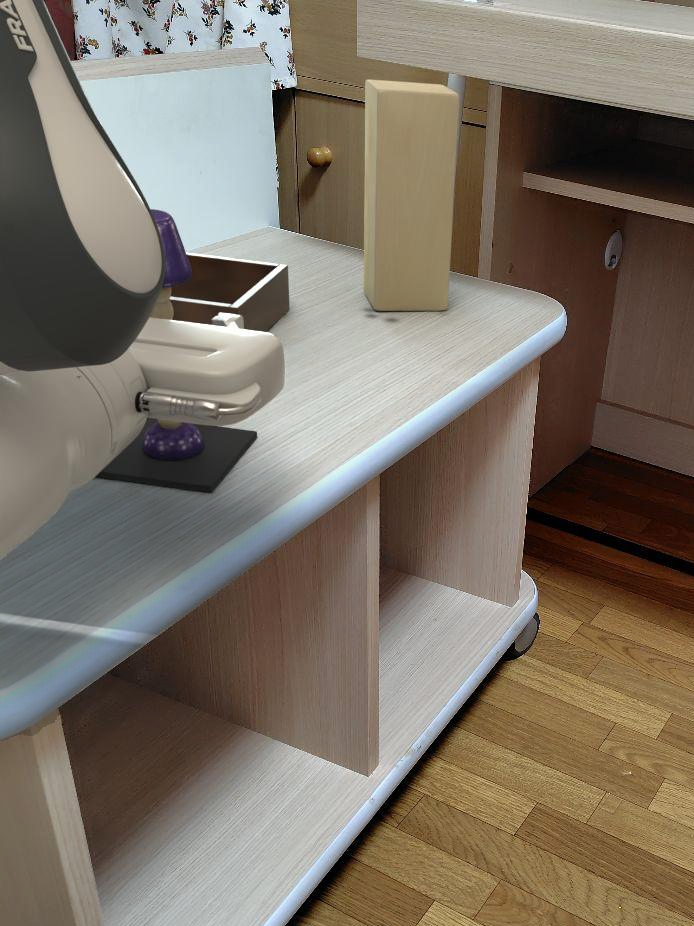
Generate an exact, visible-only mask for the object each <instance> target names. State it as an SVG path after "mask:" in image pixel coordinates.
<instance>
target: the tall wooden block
mask: <svg viewBox="0 0 694 926" xmlns="http://www.w3.org/2000/svg"><path fill="white" fill-rule="evenodd" d="M364 87H365V88H364V89H365V90H364V93H365V95H364V96H365V97H364V98H365V99H364V107H365V108H364V202H363V203H364V204H363V206H364V207H363V208H364V213H363V218H364V219H363V226H364V227H363V292H364V294H365V296H366V298H367V299H368V301H369V304H370V305H371V307H372V308H373V310H374V311H376V312H377V311H378V312H395V311H397V312H401V311H402V312H403V311H404V312H406V311H407V312H408V311H412V312H413V311H415V312H416V311H418V312H419V311H424V312H425V311H428V312H429V311H434V312H435V311H447V310H448V308H449V295H450V293H449V291H450V276H451V275H450V274H451V257H452V242H453V241H452V240H453V239H452V238H453V222H454V205H455V203H454V201H455V184H456V168H457V167H456V166H457V153H458V152H457V151H458V150H457V148H458V133H459V131H458V130H459V115H460V113H459V112H460V95H459V94H458V93H457V92H456V91H454V90H453V89H451V88H449V87H447V86H446V85H444V84H439V83H438V84H437V83H424V82H423V83H422V82H410V81H398V80H397V81H396V80H383V79H382V80H380V79H369V78H368V79H366V80H365V86H364Z"/></svg>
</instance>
